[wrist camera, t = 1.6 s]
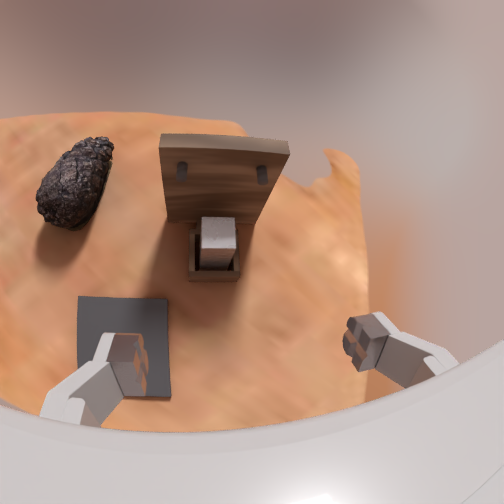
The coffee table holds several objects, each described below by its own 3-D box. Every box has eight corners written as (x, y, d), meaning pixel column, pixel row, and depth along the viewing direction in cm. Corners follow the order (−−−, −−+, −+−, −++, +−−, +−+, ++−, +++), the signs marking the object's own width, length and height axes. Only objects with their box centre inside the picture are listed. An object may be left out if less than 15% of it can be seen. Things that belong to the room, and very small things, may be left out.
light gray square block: (226, 271, 42) (236, 248, 33) (199, 271, 41) (201, 248, 32) (225, 246, 43) (234, 217, 34) (199, 246, 42) (201, 216, 33)
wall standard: (259, 281, 42) (302, 234, 26) (166, 281, 39) (148, 231, 23) (254, 213, 46) (287, 141, 30) (169, 211, 43) (161, 133, 27)
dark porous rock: (123, 153, 45) (114, 115, 36) (92, 241, 39) (69, 212, 30) (78, 150, 44) (64, 115, 35) (43, 232, 37) (16, 205, 28)
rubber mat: (81, 388, 31) (79, 389, 30) (80, 297, 36) (78, 296, 35) (171, 395, 34) (170, 396, 33) (167, 299, 39) (167, 298, 38)
